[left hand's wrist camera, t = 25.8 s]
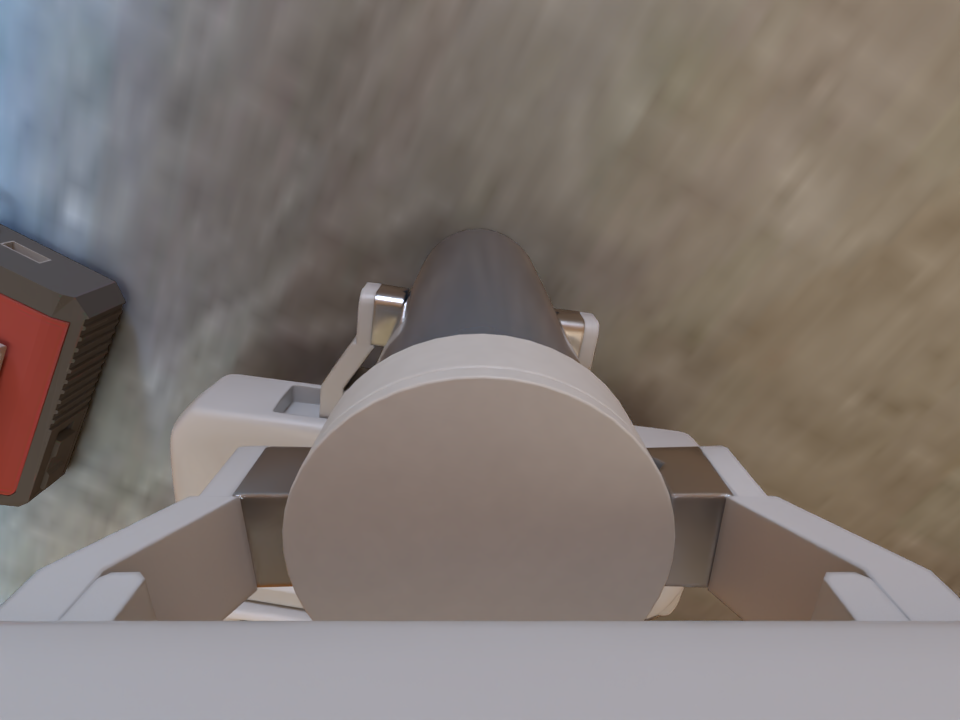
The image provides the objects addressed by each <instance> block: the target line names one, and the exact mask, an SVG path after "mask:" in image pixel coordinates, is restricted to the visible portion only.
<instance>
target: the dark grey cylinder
mask: <svg viewBox="0 0 960 720" xmlns="http://www.w3.org/2000/svg"><path fill="white" fill-rule="evenodd" d="M463 334H493V335H505V336H511V337H515V338H520V339H525V340H530V341H533V342H535V343H538V344H541V345H544V346H547V347H550V348H552V349H554V350H556V351H558V352H560V353H562V354H564V355H566V356H568V357H570V358H572V359H574V360H575V361H577V362H578V363H579V364H581V363H580V361H579V359H578V357H577V355H576V353H575V351H574V348H573V346H572V344H571V342H570V340H569V338H568V336H567V334H566V332H565V330H564V328H563V326H562V324H561V322H560V320H559V318H558V315H557V313H556V311H555V309H554V307H553V305H552V303H551V301H550V299H549V297H548V295H547V293H546V291H545V289H544V287H543V285H542V282H541V280H540V278H539V276H538V274H537V272H536V270H535V268H534V266H533V264H532V262H531V260H530V258H529V256H528V255H527V254H526V252H525V251H524V250H523V249H522V248H521V247H520V246H519V245H518V244H517V243H516V242H515V241H513V240H512V239H510V238H509V237H507V236H505V235H503V234H501V233H499V232H495V231H492V230H486V229H470V230H464V231H461V232H457V233H455V234H453V235H450V236H449V237H447V238H445V239H444V240H442V241H441V242H440V243H439V244H437V245H436V246H435V247H434V248H433V250H432V251H431V252H430V253H429V255H428V256H427V258H426V260H425V262H424V263H423V266H422V268H421V270H420V272H419V274H418V276H417V278H416V280H415V282H414V285H413V287H412V289H411V291H410V293H409V295H408V297H407V299H406V301H405V303H404V306H403V308H402V310H401V312H400V314H399V316H398V318H397V320H396V322H395V325H394V327H393V329H392V331H391V333H390V335H389V337H388V339H387V341H386V343H385V346H384V348H383V350H382V352H381V354H380V356H379V358H378V360H377V362H376V364H378V363H380V362H381V361H383V360H384V359H386V358H388V357H389V356H391V355H393V354H395V353H397V352H399V351H402V350H404V349H406V348H408V347H411V346H413V345H416V344H419V343H423V342H426V341H429V340H433V339H436V338H442V337H448V336H454V335H463Z"/></svg>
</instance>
